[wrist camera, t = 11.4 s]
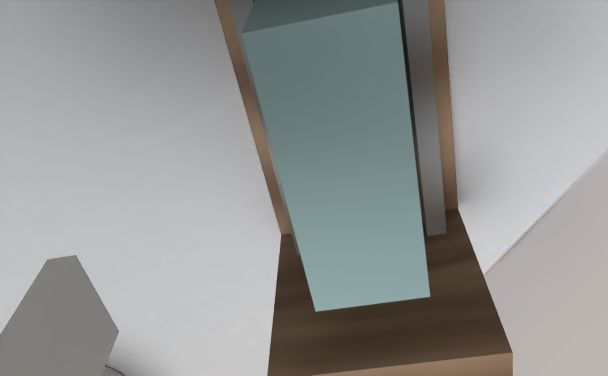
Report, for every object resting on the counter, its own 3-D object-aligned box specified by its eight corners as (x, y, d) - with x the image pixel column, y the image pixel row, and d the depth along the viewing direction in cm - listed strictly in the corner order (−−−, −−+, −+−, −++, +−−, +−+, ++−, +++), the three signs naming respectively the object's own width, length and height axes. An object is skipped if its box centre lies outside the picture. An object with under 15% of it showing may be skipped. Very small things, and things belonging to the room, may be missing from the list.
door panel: (272, -42, 23) (240, 33, 14) (366, -63, 23) (398, 2, 13) (316, 158, 28) (315, 311, 19) (393, 145, 28) (431, 296, 18)
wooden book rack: (172, -188, 22) (46, -217, 12) (418, -253, 21) (512, -345, 11) (288, 234, 33) (275, 402, 23) (451, 209, 32) (512, 376, 22)
